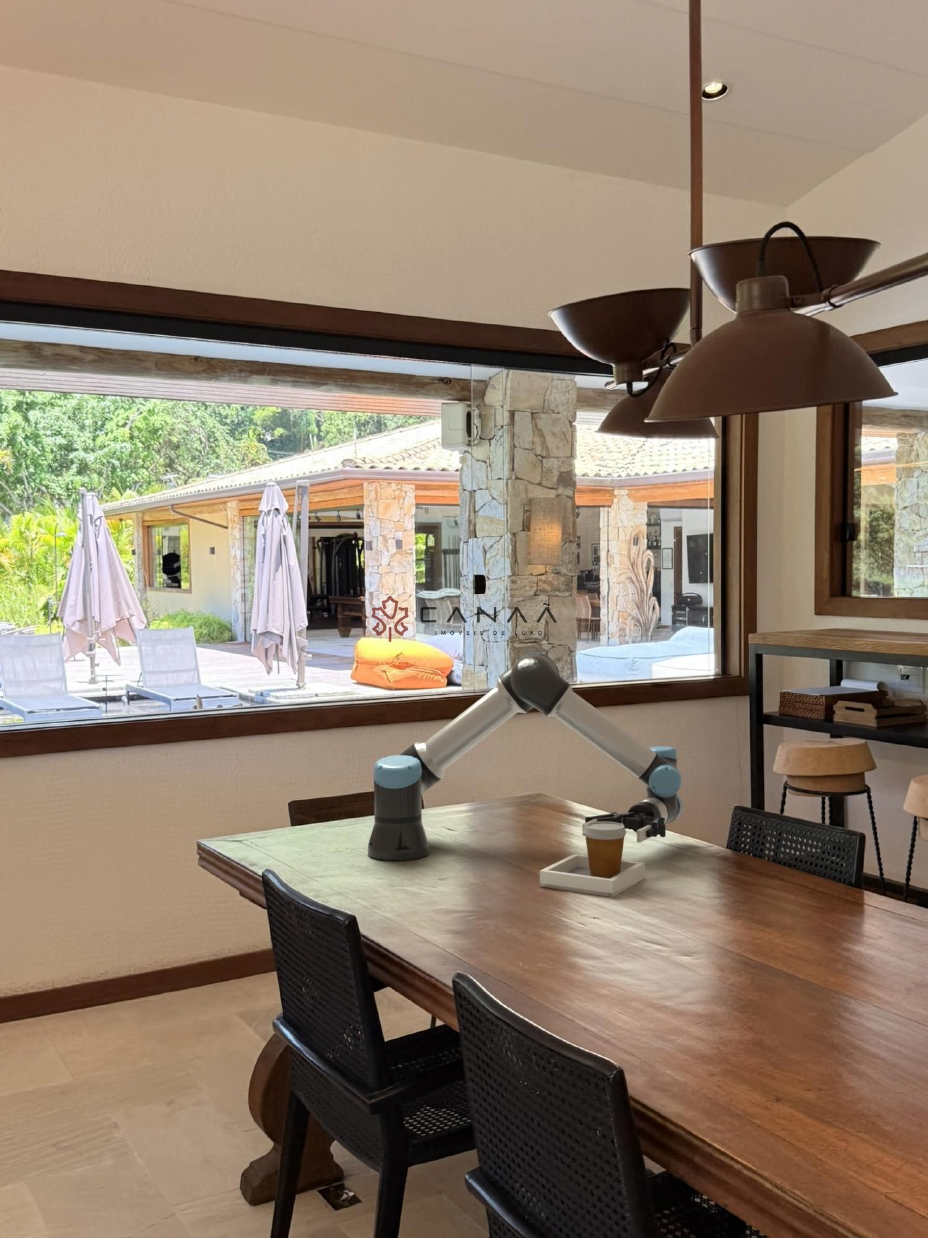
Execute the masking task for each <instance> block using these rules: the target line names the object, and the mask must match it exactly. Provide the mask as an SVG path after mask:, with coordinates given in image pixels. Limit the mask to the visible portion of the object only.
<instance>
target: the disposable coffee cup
mask: <svg viewBox="0 0 928 1238" xmlns="http://www.w3.org/2000/svg"><path fill="white" fill-rule="evenodd" d="M583 833H584V835H585V836H584V837H585V842H586V852H587V856H588V860H589V868H590V876H593V877H600V878H607V879H611V878H612V877H614V876H616V875H618V874H620V869H621V861H622V859H623V850H624V842H625V836H626V834H627V829H625V827H624V825H623V824H622V823H621V824H620V823H616V822H592V823H588V824H586V825H585V829H584V830H583Z"/></svg>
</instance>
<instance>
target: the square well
mask: <svg viewBox="0 0 928 1238" xmlns="http://www.w3.org/2000/svg"><path fill="white" fill-rule="evenodd" d="M645 864H646V863H644V862H639V861H633V860H625V859H623V860H622V861H621V869H620V874H618V875H616V876H614V877H612V878H611V879H607V878H600V877H593V876H590V868H589V860H588V855H586V854H576V853H573V854H571V855H569V856H567V857H565V858H564V859H562V860H559V861H557V862H555V863H553V864H551V865H549V866H547V867H545V868H542V869H541V870H539V887H540V888H548V889H554V890H560V891H561V890H562V891H568V892H576V893H582V894H589V895H593V896H594V895H595V896H602V897H608V898H609V897H610V898H615V897H616V896H617V895H619V894H621V893H622V892H624V891H626V890H628V889H630V888H631V887H633V886H634V885H636V884H637V883H640V882H641V881H643V880H645V875H646V873H645ZM642 879H643V880H642Z"/></svg>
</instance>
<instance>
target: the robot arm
mask: <svg viewBox="0 0 928 1238" xmlns="http://www.w3.org/2000/svg"><path fill="white" fill-rule="evenodd" d="M532 709H536V710H538V711H539V712H540V713H542V714H543V715H545V716H546V717H549V718H550V717H555V719H557V720H558V721H560V722H561V723H562V724H563V725H565V726H567V727H568V728H569V729H571V730H572V731H573V732H575V733H577V735H578V736H580V737H582V738H583V739H584V740H585V741H587V742H588V743H590V744H592V746H594V747H595V748H596V749H598V750H599V751H601V752H602V753H603V754H604V755H606V756H607V757H608V758H610V759H612V760H613V762H616V763H617V764H618V765H619V766H621V767H622V768H624V769H625V770H627V771H628V772H630V774H631V775H633V776H634V777H636V779H637V778H638V780H640V781H641V782H643V783H644V784H645V785H646V799H644V800H642V801H640V802H637V803H636V804H633V805H632V806H631V807H630V808H629V809H628V811H627V812H626V813H617V812H616V811H613V812H610V813H606V814H605V813H604V814H600V815H593V816H592V815H591V816H586V817H585V819H584V820H585V821H584V823H583V824H582V827H581V829H582V831H581V832H582V835H581V836H582V837H585V835H584V833H583V830H584V829H585V825H586V824H588V823H592V822H616V823H620V824H623V825H624V827H625V830H632V831H633V832H635V833H636V842H637V843H639V844H640V843H643V842H645V841H646V840H648V839H651V838H652V837H654V838H656V837H658V835H659V837H661V838H665V837H666V834H667V833H666V832H667V831H666V827H667V826H666V825H667V824H671V823H673V822H674V821H676V819H678V818H679V816H681V814H682V812H683V802H682V800H681V798H680V796H679V795H678V792H679V790H680V788H681V786H682V774H681V773H680V771H679V769H678V767H677V766H678V757H677V750H676V749H675V748H674V747H672V746H663V745H662V746H659V745H657V746H656V745H655V746H650V747H648V746H647V745H646V744H644V743H643V742H642V741H640V740H639V739H638V738H636V737H635V736H633V735H632V734H631V733H630V732H628V731H627V730H625V729H624V728H623V727H622V726H620V725H619V724H617V723H616V722H615V721H613V719H611V718H609V717H608V716H607V715H605V714H604V713H603V712H601V711H599V710H598V709H597V708H596V707H594V706H593V705H592V704H590V702H588V701H586V700H585V699H583V698H582V697H581V696H580V695H579V694H577V693H576V692H575V691H573V687H572V684H570V683H569V682H567V681H566V680H565V679H564V678H563V677H562V676H561V675H560V670H559V667H558V666H557V664H556V662H555V661H554V660H553V659H552V658H551V657H550V656H548V655H547V654H545V653H542V652H530V653H527V654H525V655H523V656H522V657H520V659H518V660H517V662H516V663H514V664H513V665H512V666H511V667H509V668H508V669H507V670H505V671H504V672H503V673H502V674H500V675H499V676H498V677H497V682H496V685H495V687H494V688H492V689H490V691H488V692H487V693H486V694H485V695H483V696H482V697H481V698H479V699H478V700H477V701H476V702H475V703H473V704H472V705H471V706H469V707H468V708H467V709H465V710H464V711H462V712H461V713H460V714H459V715H458V716H456V717H455V718H454V719H453V720H451V721H450V722H449V723H447V724H446V725H445V726H444V727H442V728H441V729H440V730H439V731H437V732H436V733H435V734H434V735H432V736H431V737H430V738H428V739H427V740H426V741H425V742H420V741H419V742H418V741H416V742H414V743H413V744H412V745H410V746H409V747H407V748H406V749H405V750H403V751H402V752H401V753H400V754H399V753H398V754H396V755H389V756H386V757H382V758H380V759H378V760H377V761H376V762H375V763H374V768H373V772H372V777H373V796H374V797H373V798H374V800H373V801H374V802H373V804H374V805H373V806H374V808H373V809H374V813H373V814H374V823H373V827H372V831H371V834H370V836H369V840H368V844H367V855H368V856H369V857H370V858H372V857H373V859H375V858H378V859H377V860H380V859H383V861H392V860H399V861H410V860H416V858H417V859H420V858H424V857H427V856H428V855H429V854H430V843H429V841H428V837H427V833H426V831H425V828H424V825H423V820H422V819H423V817H422V814H423V813H422V810H423V809H422V807H423V806H422V795H424V794H425V793H426V792H427V791H428V790H430V789H431V788H432V787H433V786H435V785H436V784H437V783H438V782H440V781H441V780H443V778H444V777H445V776H444V775H445V770H446V769H447V768H449V767H450V766H451V765H452V764H453V763H455V762H456V761H457V760H459V759H460V758H461V757H462V756H463V755H465V754H466V753H467V752H469V751H470V750H471V749H473V748H474V747H476V745H477V744H479V743H481V742H482V741H483V740H484V739H486V738H487V737H488V736H489V735H490V734H492V733H493V732H494V731H495V730H497V729H498V728H500V727H501V726H502V725H503V724H504V723H506V722H508V721H509V720H510V719H511V718H512V717H514V716H515V715H516V714H518V713H521V714H527V713H528V712H530V711H531V710H532ZM426 855H427V856H426Z"/></svg>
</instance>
